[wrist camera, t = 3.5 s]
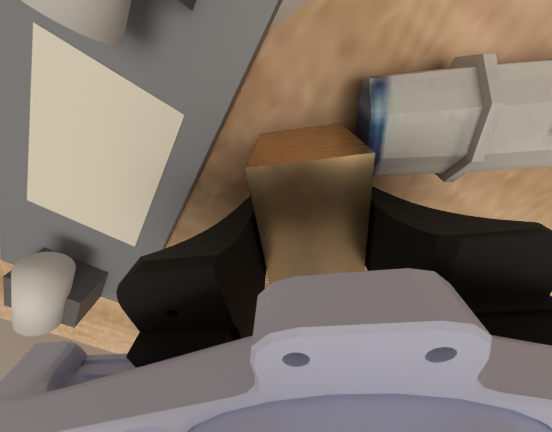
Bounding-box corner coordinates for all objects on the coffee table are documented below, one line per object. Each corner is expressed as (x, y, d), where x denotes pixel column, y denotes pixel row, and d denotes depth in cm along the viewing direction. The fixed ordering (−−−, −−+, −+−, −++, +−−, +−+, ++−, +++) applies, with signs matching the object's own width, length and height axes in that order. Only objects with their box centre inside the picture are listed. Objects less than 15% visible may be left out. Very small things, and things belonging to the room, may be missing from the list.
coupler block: (339, 237, 15) (361, 303, 10) (278, 242, 15) (275, 308, 11) (340, 123, 11) (374, 152, 7) (259, 134, 11) (245, 168, 7)
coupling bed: (141, 297, 18) (101, 358, 14) (15, 250, 16) (-73, 307, 12) (295, -27, 8) (304, -122, 4) (18, -276, 6) (-490, -947, 2)
